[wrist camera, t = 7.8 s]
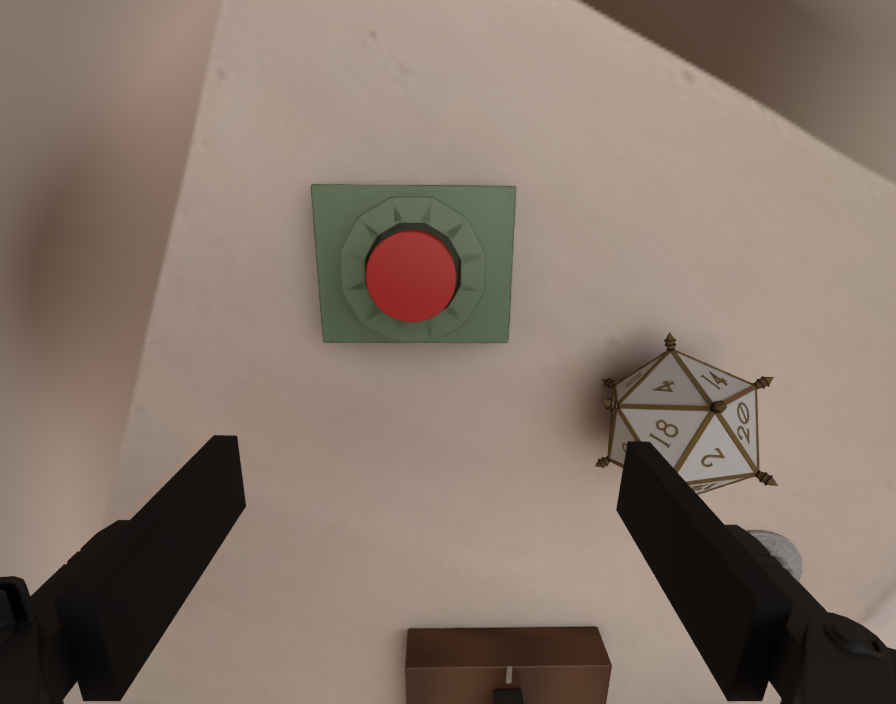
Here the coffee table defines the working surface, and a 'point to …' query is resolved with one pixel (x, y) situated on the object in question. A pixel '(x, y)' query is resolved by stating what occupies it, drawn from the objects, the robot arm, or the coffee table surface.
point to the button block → (429, 209)
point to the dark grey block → (508, 697)
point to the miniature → (781, 551)
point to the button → (411, 275)
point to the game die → (688, 419)
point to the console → (506, 665)
